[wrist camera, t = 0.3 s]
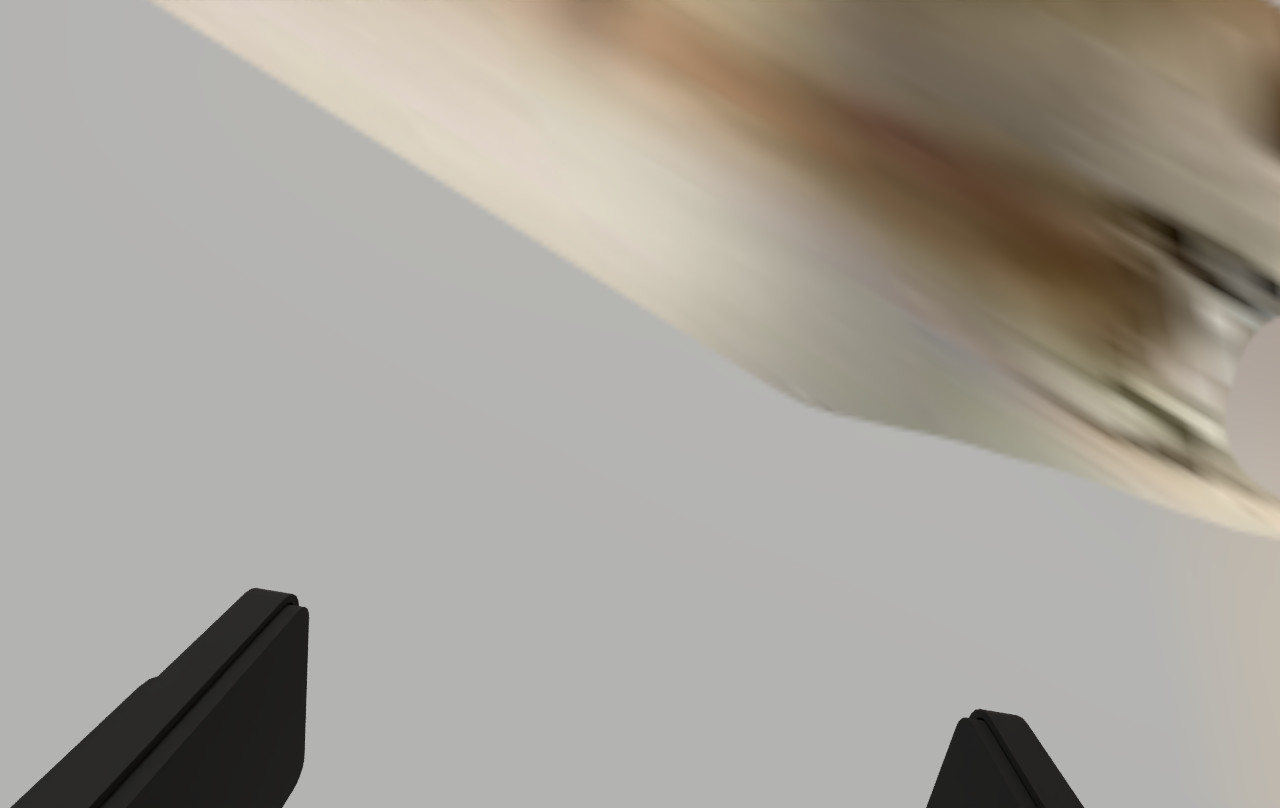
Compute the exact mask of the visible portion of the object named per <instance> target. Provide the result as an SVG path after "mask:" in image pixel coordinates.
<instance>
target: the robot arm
mask: <svg viewBox="0 0 1280 808" xmlns="http://www.w3.org/2000/svg"><path fill="white" fill-rule="evenodd" d="M308 629H309V612H308V609H307V608H305V607H301V606H299V603H298V599H297V597H296V596H295V595H293V594H289V593H283V592H277V591H271V590H265V589H259V588H253V589H250V590H249V591H247V592H246V593H245V594H244V595H243V596H242V597H241V598H240V599H239V600H237V601H236V602H235V603H234V604H233V605H232V606H231V607H230V608H229V609H228V610H227V611H226V612H225V613H224V614H223V615H222V616H221V617H220V618H219V619H218V620H216V621H215V622H214V623H213V624H212V625H211V626H210V627H209V628H208V629H207V630H206V631H205V632H204V633H203V634H202V635H201V636H200V637H199V638H198V639H197V640H196V641H194V642H193V643H192V644H191V645H190V646H189V647H188V648H187V649H186V650H185V651H184V652H183V653H182V654H181V655H180V656H179V657H178V658H177V659H176V660H175V661H174V662H173V663H171V664H170V665H169V666H168V667H167V668H166V669H165V670H164V671H163V672H162V673H161V674H160V675H159V676H158V677H155V678H151V679H149V680H148V681H146V682H145V683H144V684H142V685H141V686H140V687H139V688H137V689H136V690H135V691H134V692H133V693H132V694H131V695H130V696H129V697H128V698H127V699H125V701H123V702H122V703H121V704H120V705H119V706H118V707H117V708H116V709H115V710H114V711H113V712H112V713H111V714H110V715H108V717H106V718H105V719H104V720H103V721H102V722H101V723H100V724H99V725H98V726H97V727H96V728H95V729H94V730H93V731H92V732H90V733H89V734H88V735H87V736H86V737H85V738H84V739H83V740H82V741H81V742H80V743H79V744H78V745H77V746H75V747H74V748H73V749H72V750H71V751H70V752H69V753H68V754H67V755H66V756H65V757H64V758H63V759H62V760H61V761H60V762H58V763H57V764H56V765H55V766H54V767H53V768H52V769H51V770H50V771H49V772H48V773H47V774H46V775H45V776H44V777H43V778H41V779H40V780H39V781H38V782H37V783H36V784H35V785H34V786H33V787H32V788H31V789H30V790H29V791H28V792H27V793H26V794H25V795H23V796H22V797H21V798H20V799H19V800H18V801H17V802H16V803H15V804H14V805H13V806H12V807H11V808H282V807H283V805H284V804H285V802H286V800H287V799H288V797H289V796H290V794H291V793H292V791H293V789H294V787H295V786H296V784H297V782H298V779H299V777H300V774H301V771H302V768H303V763H304V753H305V723H306V721H305V720H306V692H307V691H306V690H307V662H308V660H307V659H308V632H309V630H308ZM926 808H1084V807H1083V805H1082V804H1081V803H1080V801H1079V799H1078V798H1077V797H1076V795H1075V793H1074V792H1073V790H1072V789H1071V788H1070V786H1069V785H1068V783H1067V782H1066V780H1065V779H1064V777H1063V776H1062V774H1061V773H1060V771H1059V770H1058V769H1057V767H1056V765H1055V764H1054V762H1053V761H1052V759H1051V758H1050V756H1049V755H1048V754H1047V752H1046V751H1045V749H1044V748H1043V746H1042V745H1041V743H1040V742H1039V740H1038V739H1037V737H1036V736H1035V734H1034V733H1033V731H1032V730H1031V728H1030V727H1029V725H1028V724H1027V723H1026V722H1025V721H1024V719H1023V718H1021V717H1019V716H1017V715H1012V714H1006V713H999V712H994V711H987V710H982V709H978V710H975V711H974V712H973V713H971V715H970V717H969V718H962V719H961V720H960V721H959V722H958V724H957V726H956V729H955V732H954V734H953V737H952V740H951V742H950V745H949V748H948V751H947V753H946V756H945V759H944V761H943V764H942V767H941V769H940V772H939V775H938V777H937V780H936V783H935V786H934V789H933V791H932V794H931V797H930V799H929V802H928V804H927V807H926Z"/></svg>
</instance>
